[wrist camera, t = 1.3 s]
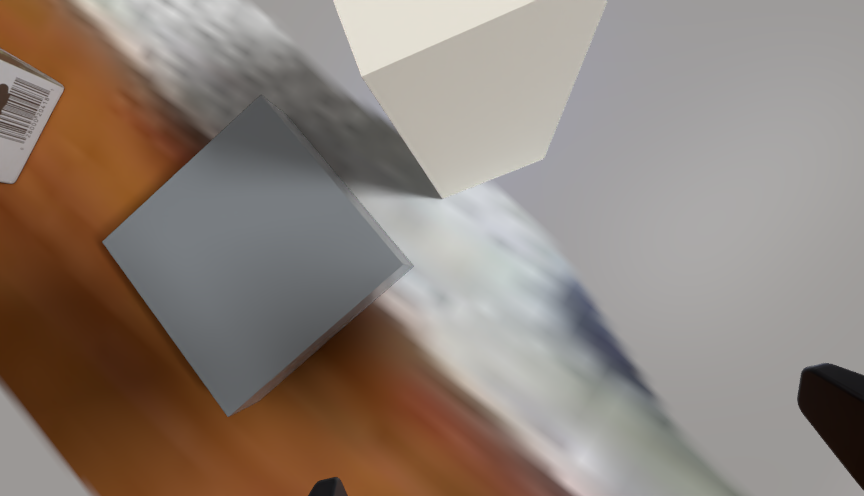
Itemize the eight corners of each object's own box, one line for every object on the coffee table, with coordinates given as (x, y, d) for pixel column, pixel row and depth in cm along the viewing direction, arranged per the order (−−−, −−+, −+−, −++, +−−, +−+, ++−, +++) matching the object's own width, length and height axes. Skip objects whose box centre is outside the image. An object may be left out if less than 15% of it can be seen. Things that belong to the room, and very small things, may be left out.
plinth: (413, 266, 21) (403, 264, 19) (258, 401, 22) (228, 417, 19) (286, 114, 23) (261, 94, 20) (143, 245, 23) (102, 241, 21)
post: (544, 158, 21) (623, -38, 8) (442, 199, 21) (361, 76, 8) (504, 62, 21) (517, -269, 8) (406, 104, 22) (278, -148, 9)
